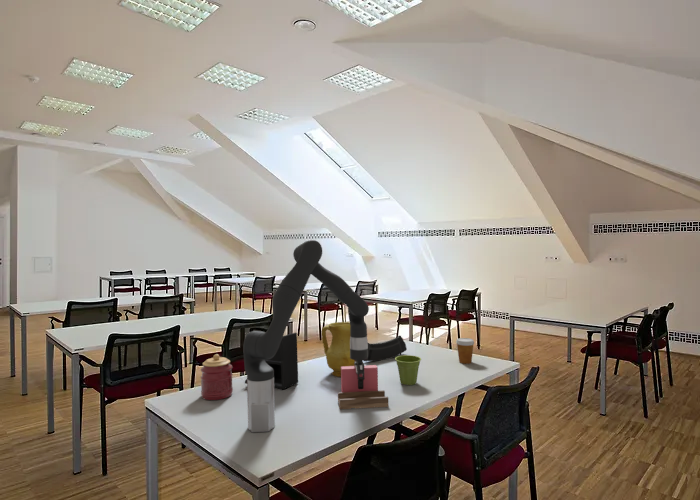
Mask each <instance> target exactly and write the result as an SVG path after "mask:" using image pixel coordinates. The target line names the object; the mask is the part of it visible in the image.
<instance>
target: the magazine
mask: <svg viewBox="0 0 700 500" xmlns="http://www.w3.org/2000/svg"><path fill="white" fill-rule="evenodd" d="M406 351H407V345H406V342H405V340H404V338H403V337H402V335H398V336H396V337H394V338H393V339H392V338H391V340H387V341H384V342H378V343H377V342H376V343H369V342H368V358H367V359H365V360H363V362H376V361H377V362H378V361H384V360H389V359H391V358H394V357H395V358H396V357H398V356H402V354H403V353H405V352H406Z"/></svg>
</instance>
